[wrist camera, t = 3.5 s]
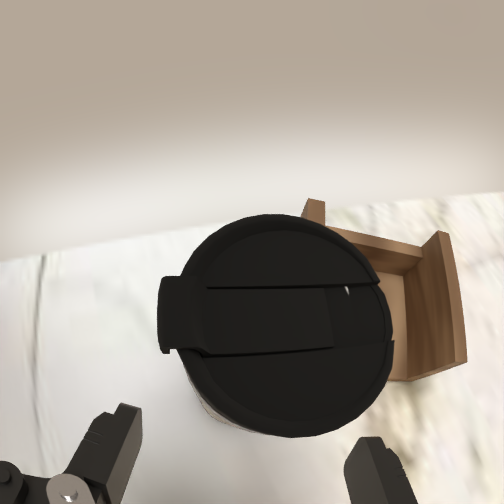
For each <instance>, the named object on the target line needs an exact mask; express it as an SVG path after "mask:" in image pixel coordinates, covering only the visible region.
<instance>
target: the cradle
mask: <svg viewBox="0 0 504 504" xmlns="http://www.w3.org/2000/svg"><path fill="white" fill-rule="evenodd" d="M301 217H302V218H305V219H308V220H311V221H314V222H316V223H319V224H322V225H324V226H325V202H324V201H319V200H314V199H310V198H308V200H307V202H306V205H305V207H304V209H303V212H302V214H301ZM325 227H327V228H329V229H331V230H333V231H335V232H337V233H338V234H340V235H341V236H343V237H344V238H345V239H347V240H348V241H349V242H351V243H352V244H353V245H354V246H355V247H356V248H357V249H358V250H359V251H360V252H361V253H362V254H363V255H364V256H365V257H366V258H367V259H368V261H369V262H370V264H371V266H372V267H373V269H374V271H375V272H376V274H377V276H378V278H379V279H380V281H381V282H380V283H379V284H378V286H379V287H380V288H381V290H382V291H383V292H384V294H385V297H386V300H387V303H388V306H389V309H390V312H391V318H392V325H393V335H392V340H395V343H394V356H393V367H392V370H391V373H390V375H389V377H388V380H387V381H415V380H418V379H421V378H424V377H427V376H430V375H433V374H436V373H439V372H442V371H445V370H448V369H450V368H453V367H456V366H458V365H461V364H464V363H466V362H467V348H466V336H465V325H464V316H463V308H462V301H461V294H460V287H459V281H458V276H457V270H456V265H455V260H454V255H453V250H452V245H451V241H450V236H449V233H446V232H442V231H439V230H438V231H437V232H436V233H435V234H434V235H433V236H432V237H431V238H430V239H429V240H428V241H427V242H426V243H425V244H424V245H423V246H422V247H419V246H415V245H410V244H406V243H402V242H398V241H393V240H389V239H385V238H380V237H376V236H371V235H367V234H362V233H358V232H353V231H349V230H344V229H339V228H335V227H330V226H325Z"/></svg>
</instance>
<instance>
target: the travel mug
mask: <svg viewBox="0 0 504 504" xmlns="http://www.w3.org/2000/svg"><path fill="white" fill-rule="evenodd" d="M380 282H381V281H380V279H379V278H378V276H377V274H376V272H375V271H374V269H373V267H372V266H371V264H370V262H369V261H368V259H367V258H366V257H365V256H364V255H363V254H362V253H361V252H360V251H359V250H358V249H357V248H356V247H355V246H354V245H353V244H352V243H351V242H349V241H348V240H347V239H345V238H344V237H343V236H341V235H340V234H338V233H337V232H335V231H333V230H331V229H329V228H327V227H325V226H324V225H322V224H319V223H316V222H314V221H311V220H308V219H305V218H302V217H296V216H290V215H284V214H263V215H257V216H251V217H246V218H243V219H240V220H237V221H235V222H232V223H230V224H227V225H225V226H224V227H222V228H220V229H219V230H217V231H216V232H214V233H213V234H211V235H210V236H208V237H207V238H206V239H205V240H204V241H203V242H202V243H201V244H200V245H199V246H198V247H197V248H196V249H195V251H194V252H193V253H192V255H191V257H190V258H189V260H188V261H187V263H186V265H185V267H184V269H183V271H182V273H181V275H180V276H165V277H163V278H162V279H161V283H160V287H159V291H158V306H157V334H158V342H159V346H160V350H161V351H162V353H163V354H170V349H177V352H178V354H179V356H180V358H181V360H182V362H183V365H184V368H185V370H186V373H187V376H188V379H189V382H190V383H191V385H192V387H193V389H194V391H195V393H196V394H197V396H198V398H199V400H200V401H201V403H202V405H203V406H204V408H205V410H206V411H207V412H208V413H209V414H210V415H211V416H212V417H214V418H215V419H217V420H219V421H221V422H223V423H226V424H228V425H231V426H234V427H237V428H240V429H243V430H246V431H249V432H254V433H260V434H265V435H274V436H280V437H287V438H298V437H311V436H317V435H321V434H324V433H327V432H331V431H334V430H337V429H339V428H341V427H342V426H344V425H346V424H348V423H349V422H351V421H353V420H355V419H356V418H358V417H359V416H360V415H361V414H362V413H363V412H364V411H365V410H366V409H367V408H368V407H370V406H371V405H372V404H373V402H374V401H375V400H376V398H377V397H378V395H379V394H380V392H381V391H382V389H383V388H384V387H385V384H386V382H387V380H388V377H389V375H390V373H391V370H392V367H393V356H394V343H395V340H392V335H393V325H392V318H391V312H390V309H389V306H388V303H387V300H386V297H385V294H384V292H383V291H382V290H381V288H380V287H379V286H378V284H379V283H380Z"/></svg>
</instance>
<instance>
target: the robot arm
mask: <svg viewBox="0 0 504 504" xmlns="http://www.w3.org/2000/svg"><path fill="white" fill-rule="evenodd" d="M141 443H142V410H141V408H138V407H135V406H131V405H128V404H124V403H120V404H119V406H118V407H117V409H116V411H115V413H114V415H113V414H110V413H107V412H103V413H102V414H101V415H99V416H98V417H96V418H95V419H94V420H93V422H92V424H91V425H90V427H89V429H88V432H86V434H85V436H84V439H83V440H82V441H81V443H80V445H79V447H78V449H77V450H76V452H75V454H74V456H73V458H72V459H71V461H70V463H69V465H68V467H67V468H66V470H65V471H64V472H63V473H62V474H59V475H56V476H54V477H52V478H40V477H35V476H30V475H25V474H21V472H20V470H19V469H18V468H17V467H16V466H15V465H13V464H12V463H10V462H6V461H0V504H120V503H121V500H122V497H123V495H124V492H125V489H126V486H127V483H128V481H129V478H130V475H131V472H132V469H133V467H134V464H135V461H136V458H137V456H138V453H139V450H140V447H141ZM402 467H403V466H402V464H401V462H400V460H399V457H398V456H397V455H396V454H395V453H394V452H393V451H392V450H391V449H390V448H388V449H386V447H385V445H384V443H383V440H382V438H381V437H361V438H359V440H358V441H357V443H356V444H355V446H354V448H353V449H352V451H351V453H350V454H349V456H348V458H347V459H346V461H345V464H344V477H345V481H346V485H347V489H348V492H349V496H350V500H351V504H418V502H417V500H416V497H415V495H414V493H413V490H412V488H411V485H410V483H409V481H408V478H407V477H406V473H405V471H404V469H402Z"/></svg>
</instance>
